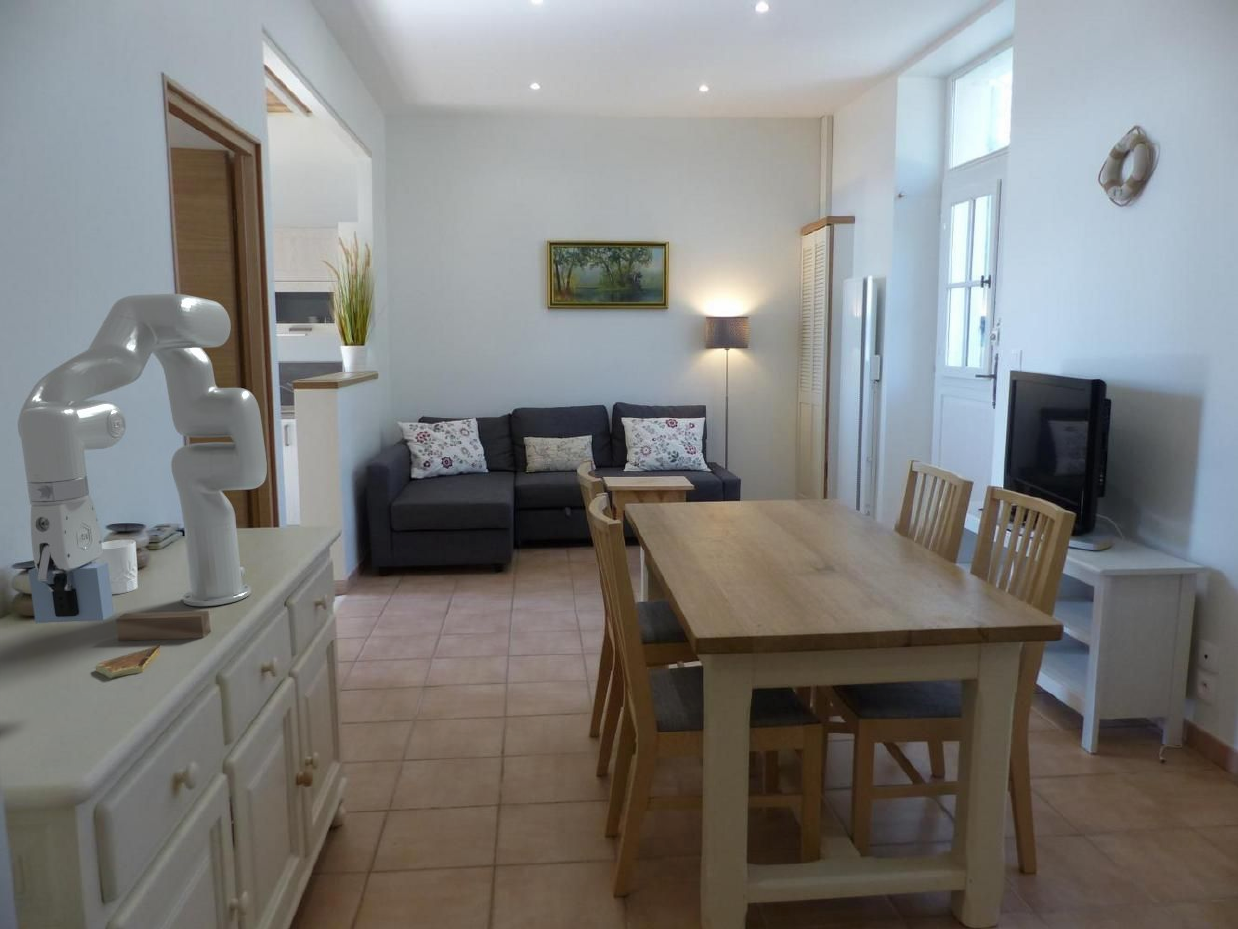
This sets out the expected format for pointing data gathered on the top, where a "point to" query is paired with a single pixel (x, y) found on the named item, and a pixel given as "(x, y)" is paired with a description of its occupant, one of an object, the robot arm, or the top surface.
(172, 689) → the top surface
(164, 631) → the bar
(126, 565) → the white cup
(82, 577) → the block
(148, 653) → the shard
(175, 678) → the top surface
